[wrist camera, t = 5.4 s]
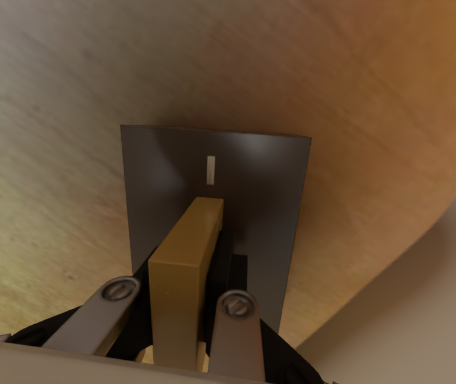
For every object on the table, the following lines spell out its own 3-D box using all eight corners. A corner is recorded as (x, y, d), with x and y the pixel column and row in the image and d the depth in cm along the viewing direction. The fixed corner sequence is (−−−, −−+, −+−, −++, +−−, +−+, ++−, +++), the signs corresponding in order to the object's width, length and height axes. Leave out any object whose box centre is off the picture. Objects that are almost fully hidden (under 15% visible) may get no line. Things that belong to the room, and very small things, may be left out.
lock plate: (147, 124, 13) (117, 124, 10) (297, 134, 12) (313, 137, 9) (155, 286, 17) (134, 321, 14) (272, 301, 16) (277, 341, 13)
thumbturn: (196, 196, 11) (142, 265, 5) (223, 198, 11) (197, 272, 5) (194, 285, 13) (151, 408, 7) (218, 288, 12) (193, 415, 7)
